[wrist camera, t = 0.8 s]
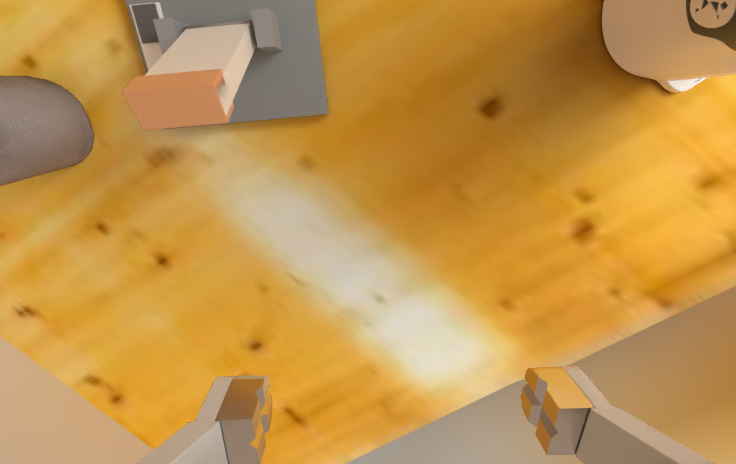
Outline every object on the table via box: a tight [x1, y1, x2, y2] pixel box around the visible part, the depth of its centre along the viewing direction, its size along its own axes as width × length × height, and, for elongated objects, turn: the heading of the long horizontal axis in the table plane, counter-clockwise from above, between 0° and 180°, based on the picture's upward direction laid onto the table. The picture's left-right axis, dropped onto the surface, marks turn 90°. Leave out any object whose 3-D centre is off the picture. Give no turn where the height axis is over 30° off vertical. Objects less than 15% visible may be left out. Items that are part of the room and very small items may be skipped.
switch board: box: [125, 0, 329, 129], centre depth 34 cm, size 16×18×5 cm
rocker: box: [121, 20, 257, 130], centre depth 29 cm, size 3×6×15 cm, turn 95°
